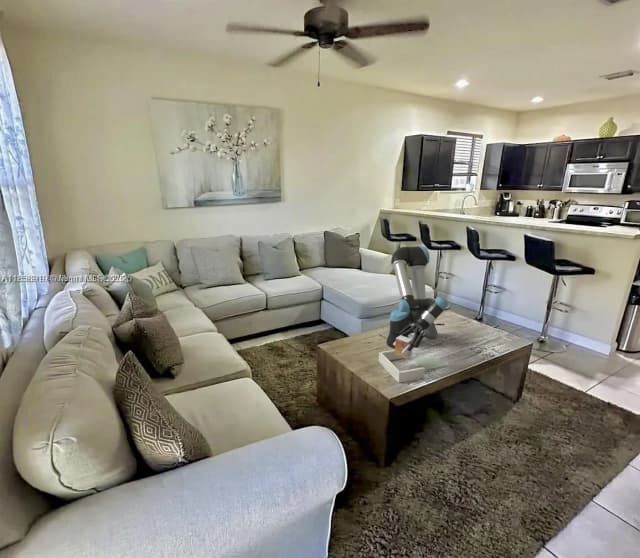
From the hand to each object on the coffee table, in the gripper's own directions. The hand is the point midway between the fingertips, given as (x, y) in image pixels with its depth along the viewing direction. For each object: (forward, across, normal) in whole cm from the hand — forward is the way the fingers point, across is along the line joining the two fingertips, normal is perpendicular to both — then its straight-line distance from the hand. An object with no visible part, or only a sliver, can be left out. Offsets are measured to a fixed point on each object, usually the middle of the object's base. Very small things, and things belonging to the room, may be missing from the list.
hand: (398, 349), depth 200 cm
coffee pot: (-20, +28, -40) cm, 52 cm away
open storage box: (+8, 0, -10) cm, 13 cm away
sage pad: (-6, 0, -24) cm, 25 cm away
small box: (+1, 0, -5) cm, 5 cm away
